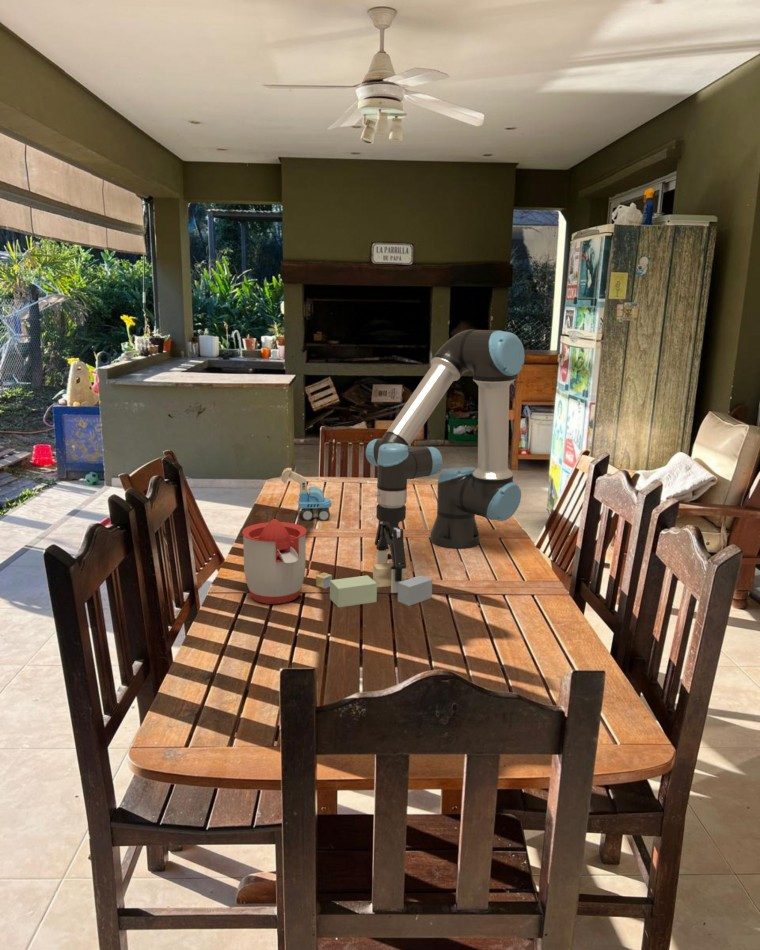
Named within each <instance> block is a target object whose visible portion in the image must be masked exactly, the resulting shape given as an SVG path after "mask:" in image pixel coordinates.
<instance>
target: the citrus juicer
mask: <svg viewBox="0 0 760 950" xmlns="http://www.w3.org/2000/svg"><path fill="white" fill-rule="evenodd" d="M307 533H308V532H307V529H306V527H304V526H302V525H300V524H297V523H292V522H286V521H285V522H284V521H279V520H278V519H276V518H272V519H271V520H270V521H268V522H262V523H261V522H260V523H255V524H251V525H249V526H247V527H245V528H243V530H242V532H241V534H242V537H243V538H242V541H243V543H242V546H243V547H242V548H243V571H244V577H245V581H246V584H247V589H248V592H249V594H250V596H251V598H252V599H253V600H255V601H256V602H259V603H263V604H266V605H273V604H283V603H289V602H292V601H294V600H296V599H297V598H298V597H299V595H300V593H301V590H302V587H303V583H304V580H305V574H306V564H307V563H306V560H307V559H306V555H307V553H306V552H307V551H306V544H307V543H306V540H307V539H306V538H307V536H306V534H307Z"/></svg>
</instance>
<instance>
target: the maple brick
mask: <svg viewBox="0 0 760 950" xmlns="http://www.w3.org/2000/svg"><path fill="white" fill-rule="evenodd" d="M399 564H400V563H399ZM392 566H393V563H392V562H387V563H383V564H377V563H373V564H372V580H374V581H375V582H376V583H377V588H382V587H383V588H384V587H391V577H392V569H391V567H392ZM407 574H408V566H406V569H403V580H402V581H404V580H407V576H408V575H407Z"/></svg>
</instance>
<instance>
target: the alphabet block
mask: <svg viewBox="0 0 760 950" xmlns="http://www.w3.org/2000/svg"><path fill="white" fill-rule="evenodd" d="M330 580H333V575H332V574H329V573H327V572H321V573H319V574H316V576H315V583H316V584H315V585H316V586H315V587H318V588H322V589H328V588H330Z"/></svg>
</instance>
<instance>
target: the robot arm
mask: <svg viewBox="0 0 760 950" xmlns="http://www.w3.org/2000/svg"><path fill="white" fill-rule="evenodd" d="M525 355H526V354H525V349H524V344H523V343H522V340H521V339H520V338H519V337H518V336H517V335H516V334H515V333H512V332H510V331H503V330H487V329H484V330H483V329H466V330H462V331H461V332H458V333H455V335H453V336H452V337H451V338H449V339H448V340H446V341H445V343H444V344H443V345H441V346H440V348H439V349H437V351H436V353H435V354H434V355H433V357H432V358H431V360H430V368H429V369H428V370H427V372H426V373H425V375H424V376H423V378H422V379H421V380H420V382H419V384H418V385H417V387H416V388H415V389H414V391H412V393H411V395H410V397H409V398H408V400H407V401H406V403H405V404H404V406H403V407H402V408H401V410H400V411H399V413H398V414H397V415H396V417H395V419H394V420H393V421H392V423H391V425H390V426H389V427H388V429H387V431H386V432H385V433H384V435H383V436H382V437H381V438H375V439H372V440H371V441H369V442H368V444H367V445H366V448H365V457H366V460H367V462H368V463H369V464H371V466H372V465H373V466H375V467H376V468H377V474H376V475H377V482H376V484H377V486H376V487H377V489H376V490H377V491H376V492H374V495H375V496H376V502H377V505H376V514H375V515H376V519H377V520H378V524H377V525H378V526H377V529H376V535H375V541H374V546H375V547H376V550H377V551H376V564H383V563H388V555H389V554H388V553H389V552H388V550H390V555H391V563H393V566H392V567H391V569H392V577H391V586H390V593H391V594H398V582H401V581H402V580H403V569H406V567H407V561H406V552H405V545H404V528H400V522H403V521H405V520H406V515H407V512H406V511H407V506H406V504H407V498H408V495H407V493H408V492H407V491H408V487H407V485H408V480H411V479H412V480H413V479H418V478H423V477H430V476H433V475H436V474H438V479H437V480H438V481H437V499H436V500H437V501H436V502H437V505H436V517H435V520H434V523H433V526H432V529H431V531H430V537H429V538H430V539H429V540H430V542H431V543H432V544H434V545H437V546H439V547H442V548H443V547H444V548H448V549H449V548H450V549H467V548H473V547H477V545H479V544H480V537H481V536H480V532H479V528H478V525H477V521H476V516H479V517H482V518H486V519H488V520H490V521H499V522H504V521H507V520H510V518H511V517H513V516H514V515H515V513H516V511H517V510H518V508H519V506H520V503H521V499H522V491H521V487H520V486H519V485H518V483H515V482H514V472H513V471H511V469H509V433H510V432H509V428H510V427H509V425H510V423H509V421H510V419H509V417H510V386H511V384H513V383H514V382H515V381H516V375H518V374H519V373H520V372H521V371H522V369H523V367H522V366H524V364H525ZM469 371H470V372H472V376H473V377H472V381H473V382H475V383H476V385H477V386H478V402H477V403H478V405H477V407H478V408H477V409H478V410H477V411H478V412H477V413H478V414H477V416H478V417H477V421H478V424H477V436H478V437H477V468H476V467H474V466H457V467H456V466H455V467H448V468H443V469H442V467H443V456H442V454H441V452H440V451H439V449H438V448H436V447H434V446H424V447H417V446H411V444H412V443H413V441H414V440H415V438H416V437H417V435H418V434H419V432H420V431H421V429H422V428H423V426H424V425H425V424H426V422H427V421H428V419H429V417H430V416H431V415H432V413H433V412H434V411H435V409H436V407H437V406H438V404H439V402H441V400H442V399H443V397H444V396H445V394H446V393H447V391H448V390H449V388H450V386H451V385H452V383H454V382H455V381H456V382H457V381H458V380H460V378H461V377H462V375H463V374H464V373H466V372H469ZM441 469H442V470H441ZM399 563H400V564H399Z"/></svg>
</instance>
